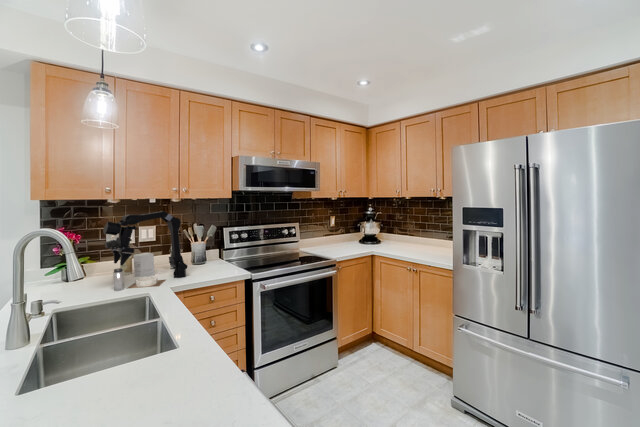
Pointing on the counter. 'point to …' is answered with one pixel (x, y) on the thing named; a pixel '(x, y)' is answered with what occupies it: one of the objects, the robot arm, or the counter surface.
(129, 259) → the skincare box
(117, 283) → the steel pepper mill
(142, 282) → the ceramic ring
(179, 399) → the counter surface
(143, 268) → the supplement box
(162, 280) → the walnut board
